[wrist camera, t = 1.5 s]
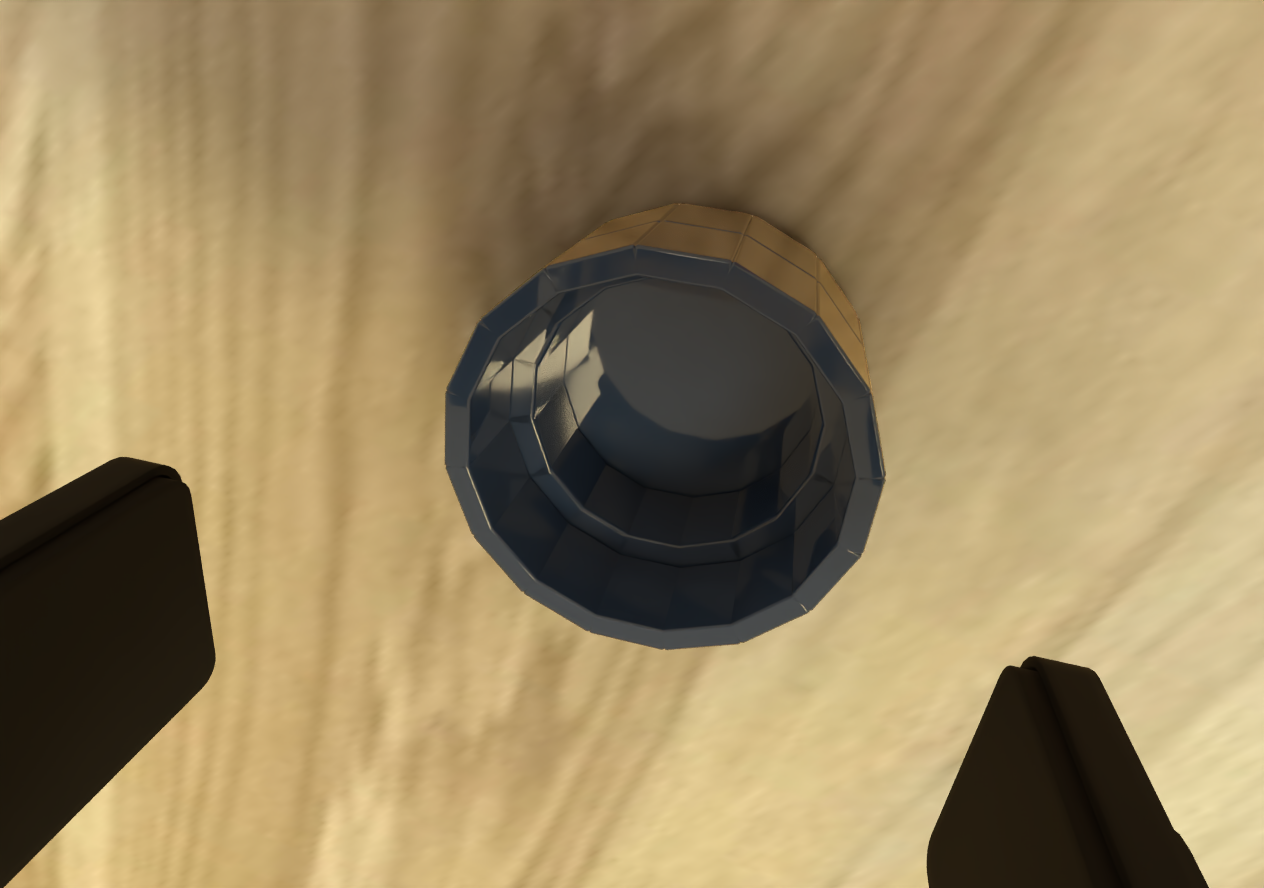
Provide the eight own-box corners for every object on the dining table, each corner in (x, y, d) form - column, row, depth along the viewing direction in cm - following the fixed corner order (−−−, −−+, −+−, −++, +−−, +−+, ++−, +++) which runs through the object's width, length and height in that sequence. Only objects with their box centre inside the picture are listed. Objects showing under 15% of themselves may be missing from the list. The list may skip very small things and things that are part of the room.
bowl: (542, 176, 15) (445, 212, 11) (907, 232, 14) (942, 295, 10) (523, 484, 19) (442, 598, 15) (821, 547, 18) (822, 689, 14)
